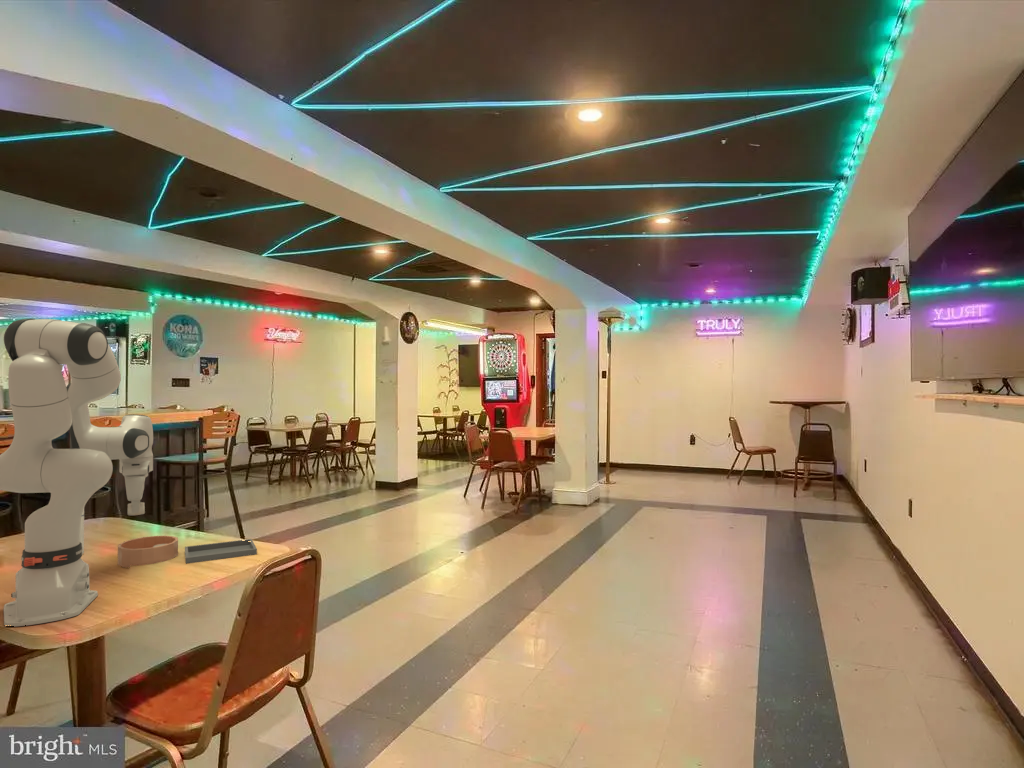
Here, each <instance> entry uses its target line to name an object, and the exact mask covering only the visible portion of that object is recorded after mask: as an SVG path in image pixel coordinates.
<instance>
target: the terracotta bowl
mask: <svg viewBox="0 0 1024 768" xmlns="http://www.w3.org/2000/svg"><path fill="white" fill-rule="evenodd" d="M158 544H166V545H162V546H157V547H153V546H155V545H158ZM178 549H179V538H178V537H177V536H173V535H151V536H143V537H137V538H132V539H129V540H126V541H123V542H120V543H118V546H117V566H119V565H120V566H119V567H121V566H122V567H121V568H127V567H129V568H131V566H144V565H152V564H153V565H154V564H158V563H161V562H166V561H169V560H172V559H174V558H176V557H177V556H178V555H179V550H178Z"/></svg>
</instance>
